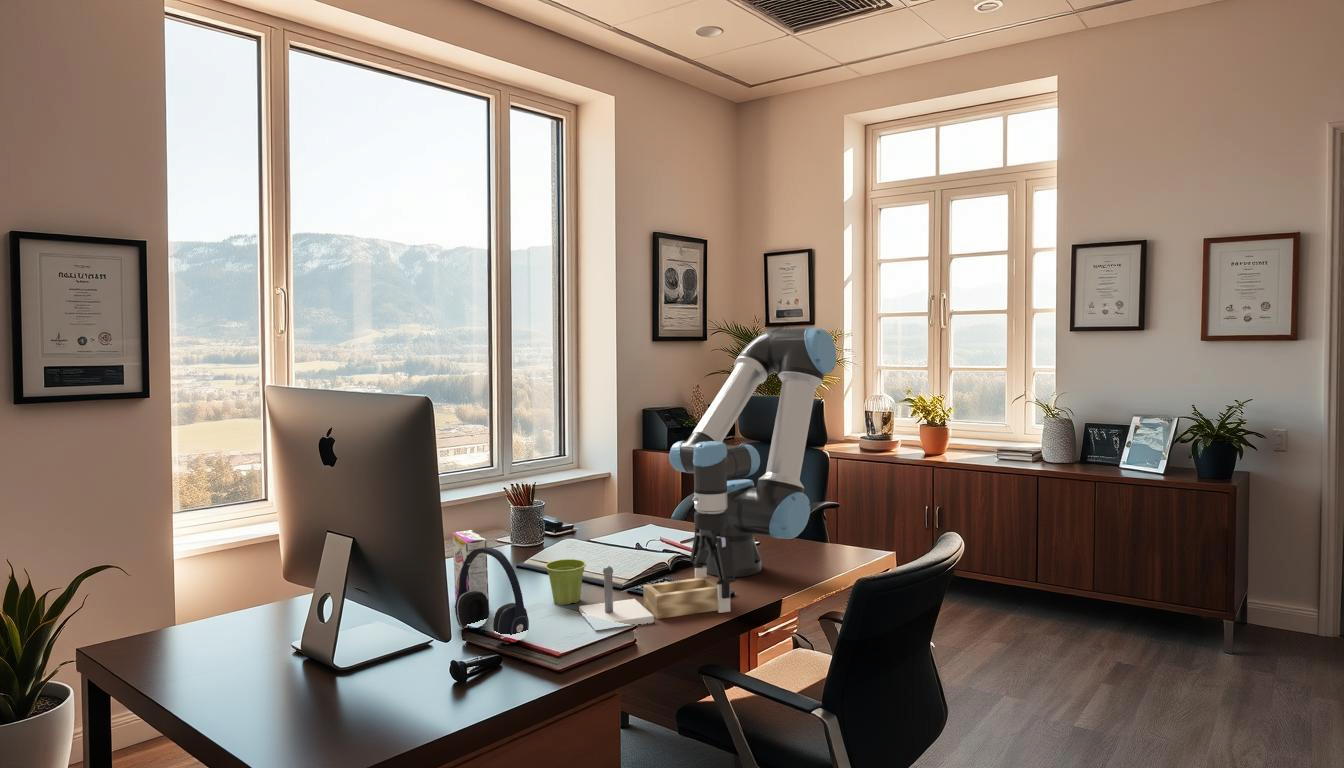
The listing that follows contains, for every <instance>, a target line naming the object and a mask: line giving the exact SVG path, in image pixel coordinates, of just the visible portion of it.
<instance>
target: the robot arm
mask: <svg viewBox="0 0 1344 768" xmlns="http://www.w3.org/2000/svg"><path fill="white" fill-rule="evenodd" d="M836 365H837V349H836V344H835V342H834V340H833V337H832V336H831V334H830V333H829V332H828V331H826V330H825V329H823V328H815V327H814V328H813V327H804V328H799V327H798V328H772V329H770V330H766V331H764V332H763V333H760V334H759V335H757V336H756V337H755V338H753V339H752V340H751V341H750V342H748V344H747V345H745V347H744V348H743V349H742V350H741V352H740V353H739V355H738V356H737V357H736V359H735V360H734V363H733V367H734V369H732V372H731V373H730V375H729V376H728V377H727V379H726V381H725V382H724V384H723V385H722V387H721V389H720V390H719V391H718V393H717V394H716V396H715V397H714V399H713V400H712V402H711V404H710V405H709V407H708V408H707V409H706V411H705V412H704V414H703V416H702V417H701V419H700V420H699V422H698V424H697V425H696V426H695V428H693V431H692V433H691V434H690V436H689V437H688V439H687V440H680V441H679V440H678V441H676V442H675V443H673V444H672V446H671V447H670V451H669V454H668V455H669V456H668V458H669V463H670V465H671V467H672V468H673V469H674V470H675V471H678V472H682V473H686V474H693V495H694V496H693V497H692V501H693V502H694V507H693V508H694V509H695V512H694V513H693V514H694V515H693V517H694V519H693V520H694V521H693V522H694V537H693V542H692V548H691V554H690V563H692V564H693V567H694V579H695V578H703V577H708V576H707V575H708V574H709V575H711V576H717V579H718V581H716V582H717V586H718V610H717V613H718V614H722V613H729V612H731V583H735V582H736V578H741V577H748V576H752V575H756V574H758V573H760V572H762V559H761V556H760V553H759V549H758V547H757V544H756V542H755V535H758V536H764V537H771V538H774V539H783V540H784V539H786V540H790V539H794V538H796V537H798V536H799V535H800V534H801V533H802V532H803V531H804V529H805V528H806V526H807V524H808V521H809V519H810V514H811V505H810V503H811V502H810V499H809V497H808V496H807V494H805V493H804V491H805V486H804V485H803V484H802V481H801V480H800V478H801V473H802V468H803V463H804V457H805V451H806V446H807V440H808V435H809V434H808V433H809V428H810V423H811V417H812V411H813V406H814V399H815V394H816V389H817V388H818V387H820V386H821V385H823V383H824V382H823V381H824V378H825V375H828V374H831V373H832V372H833V370H834V369H835V367H836ZM776 373H777V377H778V378H779V380H780V381H781V382H782V383H781V388H780V393H779V394H780V395H779V399H778V405H777V409H776V410H777V411H776V415H775V420H774V427H773V432H772V436H771V443H770V447H769V454H768V458H767V459H768V460H767V465H766V470H765V473H764V474H763V475H762V476H761V477H759V478H758V480H757V485H756V486H755V483H754V481H753V479H748V478H747V477H749V476H752V475H754V474H756V472H758V470H759V467H760V464H761V457H760V454H759V451H758V450H757V449H756V448H755V447H754V446H753V445H751V444H747V443H746V444H742V443H741V444H737V445H730V444H729V445H728V444H726V443H725V442H723V441H724V439H725V438H726V436H727V435H728V434H729V432H730V430H731V428H732V427H733V425H734V424H735V422H736V421H737V419H738V418H739V416H740V414H741V413H742V412H743V410H744V408H745V407H746V406H747V403H748V402H749V401H750V398H751V397H752V395H753V394H754V392H755V391H756V389H757V387H758V386H759V385H760V384H763V383H765V382H766V381H767V379H768V377H769V376H771V375H773V374H776ZM742 478H743V479H742ZM744 478H747V479H744Z"/></svg>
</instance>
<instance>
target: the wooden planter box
mask: <svg viewBox="0 0 1344 768" xmlns="http://www.w3.org/2000/svg"><path fill="white" fill-rule="evenodd" d="M717 582H718V581H715V580H714V579H712V578H711V577H709V576H707V577H703V578H695V577H694V578H689V579H688V578H687V579H682V580H681V579H680V580H673V581H665V582H659V583H658V582H657V583H651V584H643V585H642V586H643V587H642V589H643V591H642V592H643V594H642V595H643V607H644V608H646V609H647V610H648V611H649V612H650V613H651V614H652V615H653V616H654V618H656V619H657V620H658V619H665V618H674V617H680V616H687V615H693V614H694V613H695V614H699V613H700V614H701V613H707V612H708V613H709V612H715V611H718V586H717Z"/></svg>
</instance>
